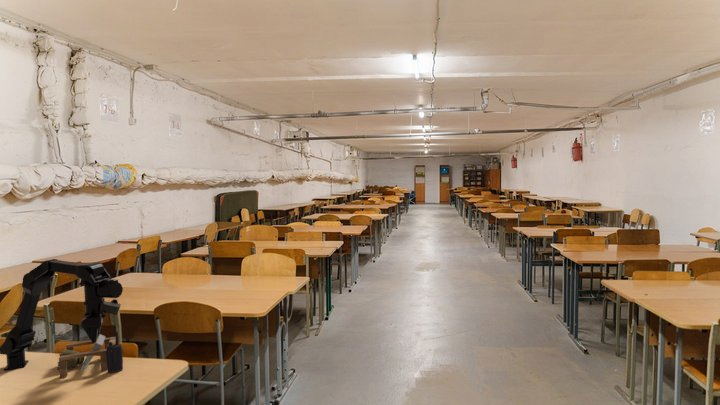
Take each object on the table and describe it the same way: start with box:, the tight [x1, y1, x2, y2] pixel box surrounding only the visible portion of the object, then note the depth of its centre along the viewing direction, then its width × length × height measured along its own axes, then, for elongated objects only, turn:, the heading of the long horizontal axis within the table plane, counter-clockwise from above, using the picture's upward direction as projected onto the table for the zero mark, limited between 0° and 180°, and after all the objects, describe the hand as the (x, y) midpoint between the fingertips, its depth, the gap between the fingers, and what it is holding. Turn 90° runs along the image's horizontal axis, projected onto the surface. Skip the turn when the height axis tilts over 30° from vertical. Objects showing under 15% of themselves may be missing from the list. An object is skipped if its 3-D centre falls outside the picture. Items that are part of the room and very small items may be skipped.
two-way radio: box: [106, 330, 124, 374], centre depth 166 cm, size 6×4×15 cm
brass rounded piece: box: [56, 348, 85, 371], centre depth 171 cm, size 8×7×8 cm
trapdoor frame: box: [58, 336, 116, 379], centre depth 172 cm, size 16×17×8 cm
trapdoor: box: [80, 333, 106, 372], centre depth 173 cm, size 11×11×2 cm
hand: (95, 338), depth 165 cm, fingers open, 9 cm apart
